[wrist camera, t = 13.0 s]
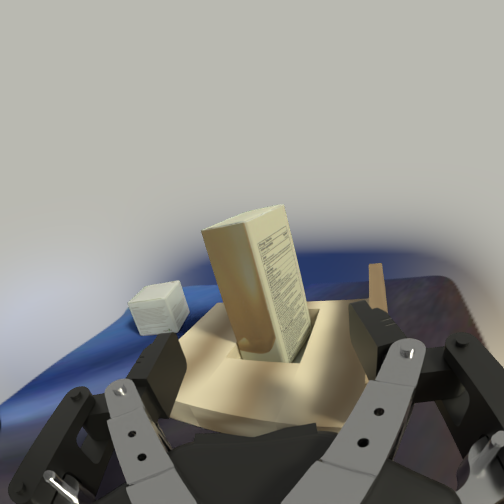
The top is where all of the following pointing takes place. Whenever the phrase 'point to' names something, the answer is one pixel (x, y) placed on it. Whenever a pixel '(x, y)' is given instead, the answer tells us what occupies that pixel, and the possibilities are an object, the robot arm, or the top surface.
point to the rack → (274, 374)
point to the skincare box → (260, 283)
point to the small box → (159, 308)
